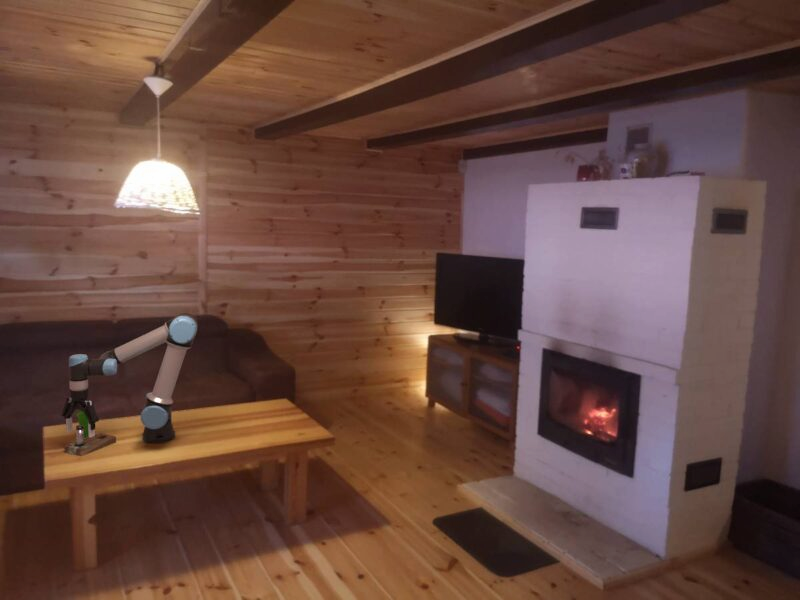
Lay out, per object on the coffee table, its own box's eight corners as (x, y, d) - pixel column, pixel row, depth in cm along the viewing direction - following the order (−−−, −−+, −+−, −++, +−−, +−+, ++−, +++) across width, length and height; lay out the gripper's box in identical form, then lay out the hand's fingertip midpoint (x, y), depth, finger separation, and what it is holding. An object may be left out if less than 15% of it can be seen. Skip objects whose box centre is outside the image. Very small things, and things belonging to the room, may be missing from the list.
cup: (89, 439, 303) (88, 417, 302) (72, 437, 305) (72, 415, 303) (101, 433, 312) (101, 412, 310) (85, 431, 314) (85, 410, 312)
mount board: (116, 442, 301) (116, 436, 300) (80, 456, 282) (80, 449, 282) (100, 439, 304) (100, 432, 304) (64, 452, 286) (64, 445, 285)
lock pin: (85, 450, 289) (85, 425, 287) (79, 452, 286) (79, 427, 284) (80, 449, 290) (80, 424, 288) (75, 451, 287) (74, 426, 285)
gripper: (106, 390, 283) (107, 436, 286) (66, 383, 292) (67, 427, 295) (92, 394, 276) (94, 441, 279) (51, 387, 285) (53, 432, 288)
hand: (80, 434), depth 287 cm, fingers open, 13 cm apart
